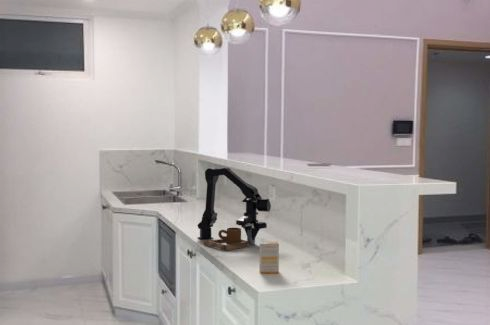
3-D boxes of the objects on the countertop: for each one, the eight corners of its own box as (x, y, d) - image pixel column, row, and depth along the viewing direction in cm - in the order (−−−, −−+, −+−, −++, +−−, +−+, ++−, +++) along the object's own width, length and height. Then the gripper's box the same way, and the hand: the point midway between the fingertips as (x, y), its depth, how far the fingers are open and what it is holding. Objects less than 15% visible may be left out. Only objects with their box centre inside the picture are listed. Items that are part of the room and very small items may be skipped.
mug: (219, 248, 287) (219, 230, 286) (216, 245, 294) (217, 227, 294) (242, 247, 290) (242, 229, 289) (239, 244, 297) (239, 227, 296)
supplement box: (277, 270, 246) (278, 241, 246) (278, 273, 242) (279, 243, 241) (258, 270, 246) (259, 241, 245) (259, 273, 241) (260, 243, 240)
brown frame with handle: (203, 244, 295) (203, 231, 295) (237, 238, 311) (237, 226, 311) (225, 250, 282) (225, 236, 282) (259, 244, 298) (259, 231, 297)
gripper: (228, 210, 301) (228, 238, 302) (251, 214, 287) (251, 244, 288) (243, 208, 308) (243, 236, 309) (267, 212, 294) (267, 241, 295)
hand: (251, 239), depth 300 cm, fingers open, 3 cm apart
